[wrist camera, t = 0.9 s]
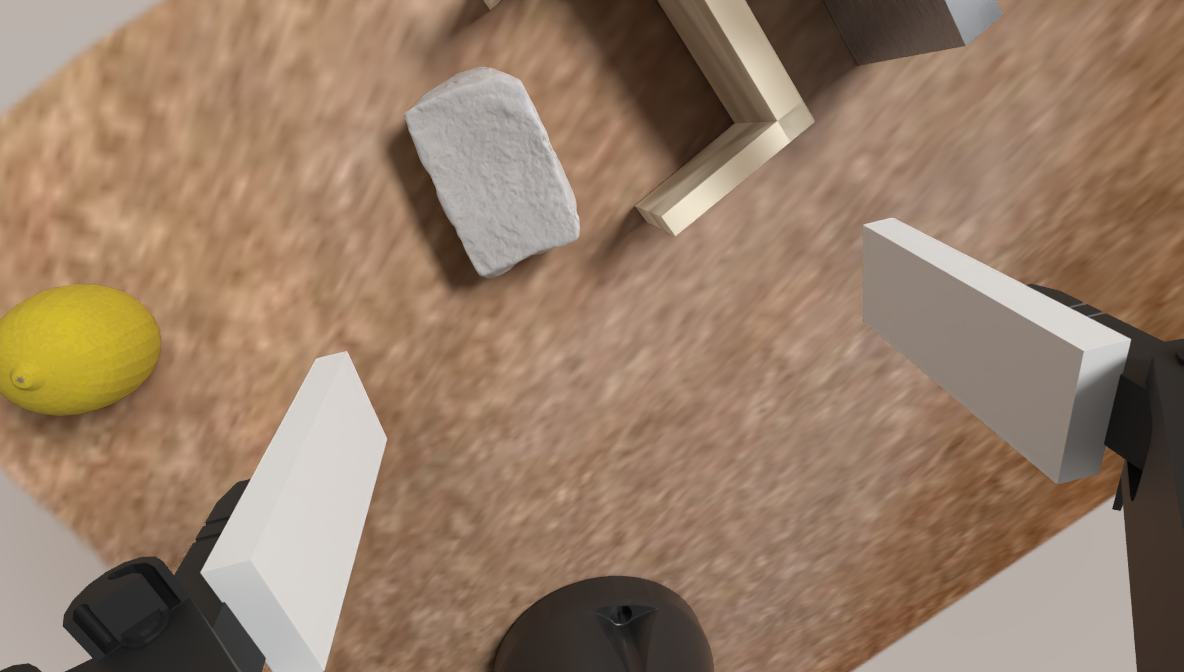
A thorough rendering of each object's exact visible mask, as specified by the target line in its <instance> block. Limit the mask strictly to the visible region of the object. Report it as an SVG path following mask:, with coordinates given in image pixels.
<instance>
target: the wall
mask: <svg viewBox="0 0 1184 672" xmlns="http://www.w3.org/2000/svg"><path fill="white" fill-rule="evenodd" d="M823 1H824V3H825V5H826V7H827V9H828V11H829V13H830V14H831V16H832V18H833V20H834V22H835V24H836V26H837V28H838V30H839V31H840V33H841V35H842V37H843V39H844V41H845V43H846V45H847V47H848V49H849V50H850V52H851V54H852V56H853V58H854V60H855V62H856V64H857V66H859V65H865V64H870V63H876V62H881V61H886V60H892V59H897V58H903V57H908V56H913V55H919V54H924V53H930V52H935V51H940V50H946V49H951V48H957V47H962V46H966V45H967V44H968V43H970V42H971V41H972V40H973V39H975V38H976V37H977V36H978V35H980V34H981V33H982V32H983V31H984V30H986V29H987V28H988V27H989V26H991V25H992V24H993V23H994V22H995V21H997V20H998V19H999V18H1000V17H1002V16H1003V15H1002V13H1001V10H1000V8H999V6H998V3H997V1H996V0H823Z"/></svg>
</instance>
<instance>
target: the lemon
mask: <svg viewBox="0 0 1184 672" xmlns="http://www.w3.org/2000/svg"><path fill="white" fill-rule="evenodd" d="M160 349H161V336H160V330H159V327H158V325H157V323H156V321H155V319H154V317H153V315H152V314H151V313H150V312H149V311H148V309H147V308H146V307H145V306H144V305H143V304H141V303H140V302H139V301H138V300H136V299H135V298H134V297H132V296H130V295H128V294H126V293H124V292H122V291H120V290H117V289H113V288H109V287H105V286H101V285H86V284H74V285H68V286H63V287H57V288H52V289H48V290H45V291H43V292H41V293H39V294H37V295H34V296H32V297H30V298H28V299H26V300H24V301H22V302H21V303H19V304H18V305H16V306H15V307H14V308H13V309H12V310H10V311H9V312H8V313H7V314H6V315H5V316H3V317H2V318H1V319H0V393H1V394H2V395H3V396H4V397H6V398H7V399H8V400H9V401H10V402H12V403H14V404H16V405H18V406H20V407H22V408H23V409H26V410H30V411H33V412H36V413H40V414H47V415H57V416H63V415H75V414H83V413H87V412H91V411H94V410H97V409H100V408H103V407H106V406H109V405H111V404H114V403H116V402H118V401H119V400H121V399H122V398H124V397H126V396H127V395H129V394H130V393H132V392H133V391H135V390H136V389H137V388H138V387H139V386H140V385H141V384H142V383H143V382H144V381H145V380H146V379H147V378H148V376H149V375H150V374H151V373H152V371H153V370H154V367H155V365H156V363H157V361H158V359H159V356H160Z"/></svg>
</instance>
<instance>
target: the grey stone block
mask: <svg viewBox="0 0 1184 672" xmlns="http://www.w3.org/2000/svg"><path fill="white" fill-rule="evenodd" d="M404 117H405V120H406V123H407V125H408V130H409V132H410V135H411V137H412V140H413V142H414V145H415V147H416V150H417V153H418V156H419V158H420V161H421V163H422V165H423V166H424V168H425V169H426V171H427V172H428V173H429V174H430V176H431V179H432V182H433V183H434V185H435V187H436V190H437V192H436V194H437V197H438V199H439V201H440V203H441V205H442V207H443V210H444V212H445V214H446V215H447V217H448V219H449V221H450V222H451V223H452V225H453V226H455V228H456V231H457V235H458V236H459V238H460V239H461V241H462V243H463V246H464V248H465V251H466V253H467V254H468V256H469V258H470V260H471V262H472V264H473V266H474V267H475V269H476V271H477V273H478V274H479V275H480V276H485V277H486V278H487V279H490V278H493V277H497V276H499V275H502V274H504V273H506V272H507V271H509V270H510V269H511V268H512V267H513V266H514V265H515V264H516V263H518V262H520V261H521V260H524V259H526V258H529V257H530V256H531V255H538V254H543V253H544V252H546V251H547V250H550V249H552V248H554V247H561V246H565V245H568V244H570V243H572V242H574V241H576V240H577V238H578V237H579V232H580V225H579V216H578V215H577V211H576V208H577V205H576V200H575V196H574V193H573V191H572V189H571V187H570V184H569V182H568V180H567V178H566V175H565V173H564V170H563V168H562V166H561V163H560V161H559V160H558V158H557V156H556V153H555V152H554V151H553V149H552V146H551V144H550V142H549V138H548V135H547V132H546V130H545V128H544V126H543V124H542V123H541V120H540V118H539V115H538V113H537V111H536V109H535V107H534V105H533V103H532V101H531V100H530V97H529V95H528V93H527V92H526V90H525V88H524V86H523V84H522V82H521V81H520V80H519V79H517V78H515V77H513V76H511V75H509V74H505V73H503V72H501V71H498V70H495V69H493V68H486V67H476V68H475V69H472V70H467V71H463V72H460V73H457V74H456V75H454V76H453V77H451V78H450V79H448V80H446V81H444V82H443V83H442V84H440V85H438V86H437V87H435V88H433V89H432V90H430V91H429V92H427V93H426V94H425V95H424V96H423V97H421V99H420V100H418V101H417V103H416V104H415V105H414V106H413V107H412V108H411V109H410V110H409V111H407V112H405V113H404Z"/></svg>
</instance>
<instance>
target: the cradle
mask: <svg viewBox="0 0 1184 672" xmlns="http://www.w3.org/2000/svg"><path fill="white" fill-rule="evenodd" d="M483 1H484V2H485V3H486V5H487V6H488V8H489V9H490V10H491V9H492V8H493V7H494V6H496V5H497V4H498V3H499V2H500V1H501V0H483ZM657 1H658V2H659V4H660V6H661V7H662V9H663V10H664V12H665V13H666V15H667V17H668V18H669V20H670V21H671V23H672V25H673V26H674V28H675V29H676V31H677V33H678V34H679V36H680V37H681V39H682V40H683V42H684V44H685V45H686V47H687V48H688V50H689V52H690V53H691V55H692V56H693V58H694V59H695V61H696V63H697V64H698V66H699V67H700V69H701V71H702V72H703V74H704V75H705V77H706V79H707V80H708V82H709V83H710V85H711V86H712V88H713V90H714V91H715V93H716V94H717V96H718V98H719V99H720V101H721V102H722V104H723V105H724V107H725V109H726V110H727V112H728V113H729V115H730V117H731V118H732V120H733V121H734V123H735V124H733V125H732V126H731V127H730V128H729V129H727V130H726V131H725V132H724V133H722V134H721V135H720V136H719V137H718V138H716V139H715V140H714V141H713V142H712V143H710V144H709V145H708V146H707V147H706V148H704V149H703V150H702V151H701V152H699V153H698V154H697V155H696V156H695V157H693V158H692V159H691V160H690V161H689V162H687V163H686V164H685V165H684V166H683V167H681V168H680V169H679V170H678V171H677V172H675V173H674V174H673V175H672V176H670V177H669V178H668V179H667V180H666V181H664V182H663V183H662V184H661V185H660V186H658V187H657V188H656V189H655V190H654V191H652V192H651V193H650V194H649V195H647V196H646V197H645V198H644V199H643V200H641V201H640V202H639V203H638V204H637V205H635V207H636V208H637V209H638V211H639V212H640V213H641V215H642V216H643V217H644V219H645V220H646V221H647V223H649V224H651V225H653V226H655V227H657V228H659V229H662V230H664V231H666V232H668V233H670V234H672V235H674V236H676V235H677V234H679V233H680V232H681V231H682V230H684V229H685V228H686V227H687V226H688V225H690V224H691V223H692V222H693V221H695V220H696V219H697V218H698V217H699V216H701V215H702V214H703V213H704V212H706V211H707V210H708V209H709V208H710V207H712V206H713V205H714V204H715V203H716V202H718V201H719V200H720V199H721V198H723V197H724V196H725V195H726V194H727V193H729V192H730V191H731V190H732V189H734V188H735V187H736V186H737V185H738V184H740V183H741V182H742V181H743V180H744V179H746V178H747V177H748V176H749V175H751V174H752V173H753V172H754V171H755V170H757V169H758V168H759V167H760V166H762V165H763V164H764V163H765V162H766V161H768V160H769V159H770V158H771V157H773V156H774V155H775V154H776V153H777V152H779V151H780V150H781V149H782V148H783V147H785V146H786V145H787V144H788V143H790V142H791V141H792V140H793V139H794V138H796V137H797V136H798V135H799V134H801V133H802V132H803V131H804V130H805V129H807V128H808V127H809V126H810V125H812V124H813V123H814V122H815V121H814V119H813V117H812V115H811V114H810V112H809V110H808V109H807V107H806V105H805V103H804V102H803V100H802V98H801V96H800V95H799V93H798V91H797V89H796V88H795V86H794V84H793V82H792V81H791V79H790V77H789V76H788V74H787V72H786V70H785V69H784V67H783V65H782V63H781V62H780V60H779V58H778V56H777V55H776V53H775V51H774V50H773V48H772V46H771V44H770V43H769V41H768V39H767V37H766V36H765V34H764V32H763V30H762V29H761V27H760V25H759V23H758V22H757V20H756V18H755V17H754V15H753V13H752V11H751V10H750V8H749V6H748V4H747V3H746V1H745V0H657Z"/></svg>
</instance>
